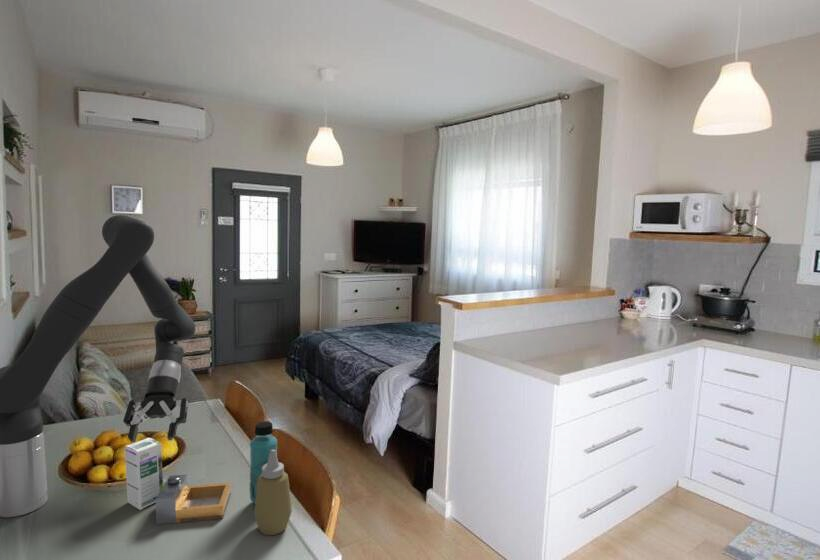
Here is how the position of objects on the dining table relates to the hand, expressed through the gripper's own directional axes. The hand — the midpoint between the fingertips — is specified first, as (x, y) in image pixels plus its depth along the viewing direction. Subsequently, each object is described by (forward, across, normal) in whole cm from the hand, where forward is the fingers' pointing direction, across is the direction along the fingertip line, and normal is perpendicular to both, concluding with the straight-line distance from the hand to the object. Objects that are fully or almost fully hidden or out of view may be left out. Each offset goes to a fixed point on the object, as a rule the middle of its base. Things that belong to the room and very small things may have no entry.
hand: (151, 440), depth 117 cm
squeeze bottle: (+24, +31, -5) cm, 39 cm away
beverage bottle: (+17, +28, +2) cm, 33 cm away
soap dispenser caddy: (+16, +13, +2) cm, 21 cm away
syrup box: (+13, 0, +5) cm, 14 cm away
